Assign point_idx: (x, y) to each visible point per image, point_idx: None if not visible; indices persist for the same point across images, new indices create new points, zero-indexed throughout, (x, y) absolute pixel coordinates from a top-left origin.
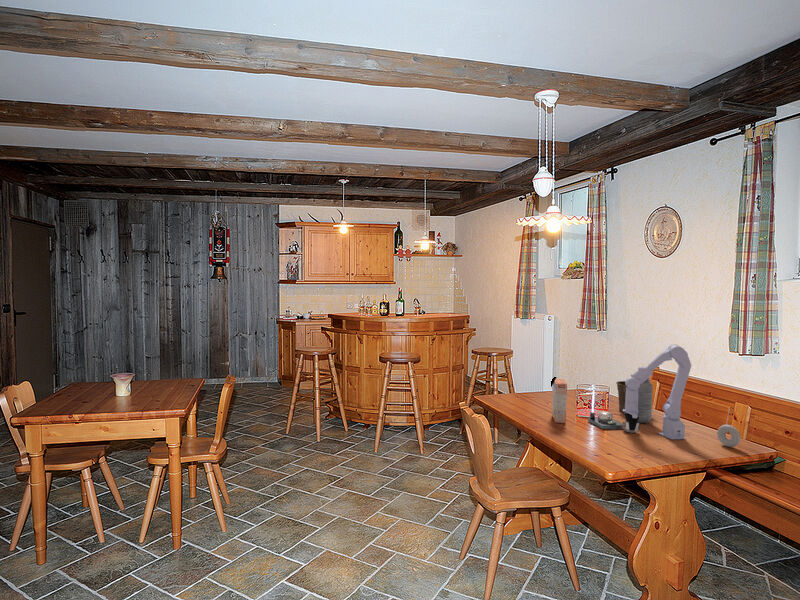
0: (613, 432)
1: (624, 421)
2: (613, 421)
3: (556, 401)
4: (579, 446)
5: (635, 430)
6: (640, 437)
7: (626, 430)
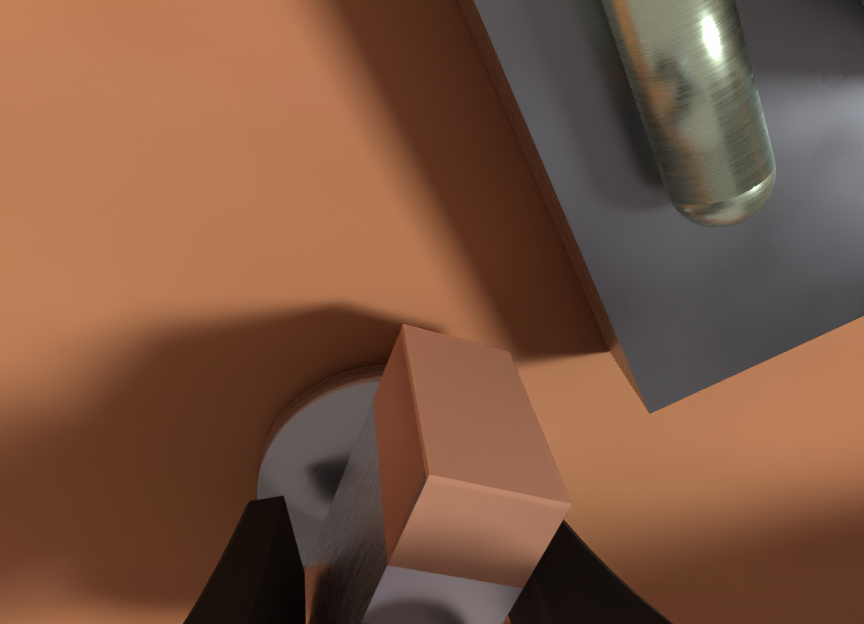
0: (108, 41)
1: (452, 525)
2: (718, 125)
3: None
4: None
5: None
6: (31, 610)
7: (302, 410)
